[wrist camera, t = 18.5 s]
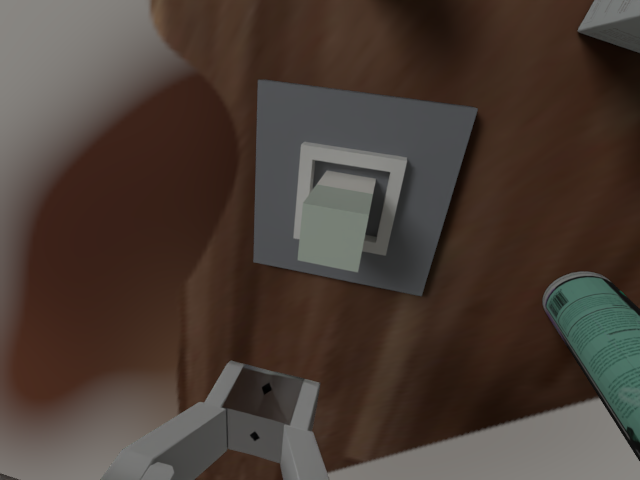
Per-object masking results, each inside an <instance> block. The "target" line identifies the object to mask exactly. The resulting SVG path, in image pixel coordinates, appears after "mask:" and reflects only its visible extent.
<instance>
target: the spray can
mask: <svg viewBox="0 0 640 480" xmlns="http://www.w3.org/2000/svg"><path fill="white" fill-rule="evenodd" d="M543 307H544V310H545V311H546V314H547V315H548V317H549V318H550V320H551V321H552V323H553V325H554V326H555V328H556V329H557V331H558V333H559V334H560V336H561V337H562V339H563V341H564V342H565V344H566V345H567V347H568V348H569V350H570V352H571V353H572V355H573V356H574V358H575V360H576V361H577V363H578V364H579V366H580V367H581V369H582V371H583V372H584V374H585V375H586V377H587V379H588V380H589V382H590V383H591V385H592V387H593V388H594V390H595V391H596V393H597V394H598V396H599V398H600V399H601V401H602V402H603V404H604V406H605V407H606V409H607V410H608V412H609V413H610V415H611V417H612V418H613V420H614V421H615V423H616V425H617V426H618V428H619V429H620V431H621V433H622V434H623V436H624V437H625V439H626V440H627V442H628V444H629V445H630V447H631V448H632V450H633V452H634V453H635V455H636V456H637V458H638V459H639V461H640V309H639V308H638V307H637V306H636V305H635V304H634V303H633V302H632V301H631V300H630V299H628V298H627V297H626V296H625V295H624V294H623V293H622V292H621V291H620V290H619V289H618V288H617V287H616V286H615V285H614V284H613V283H612V282H611V281H609V280H608V279H607V278H606V277H604V276H602V275H600V274H597V273H593V272H575V273H571V274H567V275H565V276H562V277H560V278H559V279H557V280H555V281H554V282H553V283H552V284H551V285H550V286H549V287H548V288H547V289H546V291H545V293H544V295H543Z"/></svg>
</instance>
